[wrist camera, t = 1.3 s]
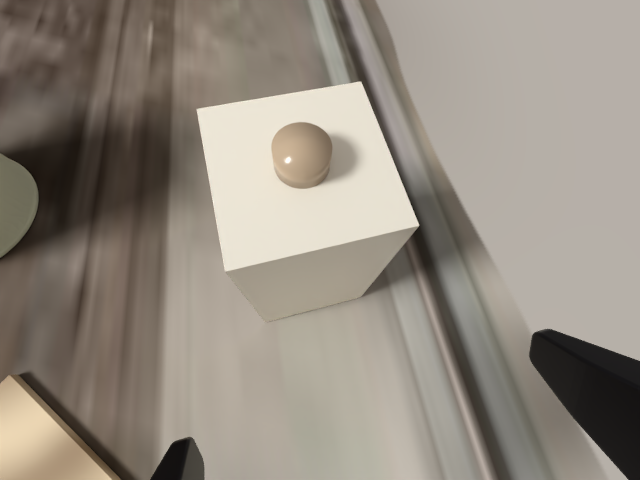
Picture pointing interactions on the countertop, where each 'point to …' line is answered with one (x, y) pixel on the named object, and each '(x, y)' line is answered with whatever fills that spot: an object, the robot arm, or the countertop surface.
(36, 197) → the can
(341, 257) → the knobbed white block
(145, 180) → the countertop surface
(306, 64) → the countertop surface
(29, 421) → the coaster
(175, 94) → the countertop surface
